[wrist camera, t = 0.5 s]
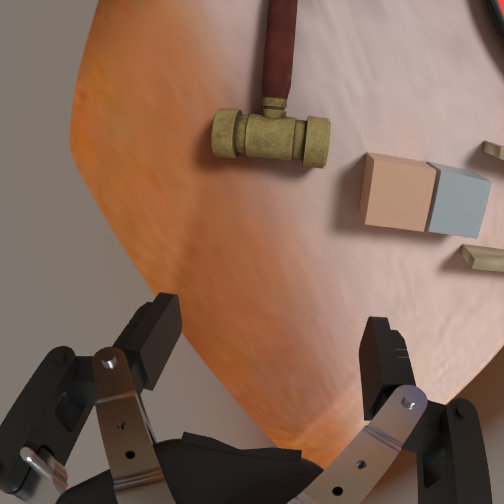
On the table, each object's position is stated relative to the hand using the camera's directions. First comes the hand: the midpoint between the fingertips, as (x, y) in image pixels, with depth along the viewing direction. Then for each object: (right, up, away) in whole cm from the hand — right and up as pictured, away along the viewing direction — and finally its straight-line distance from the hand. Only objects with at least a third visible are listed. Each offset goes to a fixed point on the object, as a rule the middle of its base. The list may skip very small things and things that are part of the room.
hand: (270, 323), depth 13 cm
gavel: (+2, +22, +12) cm, 25 cm away
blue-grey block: (+19, +9, +15) cm, 26 cm away
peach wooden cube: (+13, +10, +16) cm, 23 cm away
